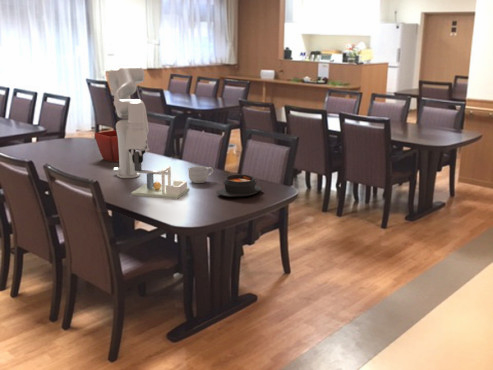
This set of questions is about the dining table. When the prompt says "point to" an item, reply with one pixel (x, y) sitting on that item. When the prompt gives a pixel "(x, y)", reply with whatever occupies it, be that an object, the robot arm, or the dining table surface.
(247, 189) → the casserole
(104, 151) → the plant pot
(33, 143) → the dining table surface
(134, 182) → the dining table surface
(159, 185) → the ball
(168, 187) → the cream platform with frame
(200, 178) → the teacup
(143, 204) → the dining table surface
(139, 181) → the dining table surface
